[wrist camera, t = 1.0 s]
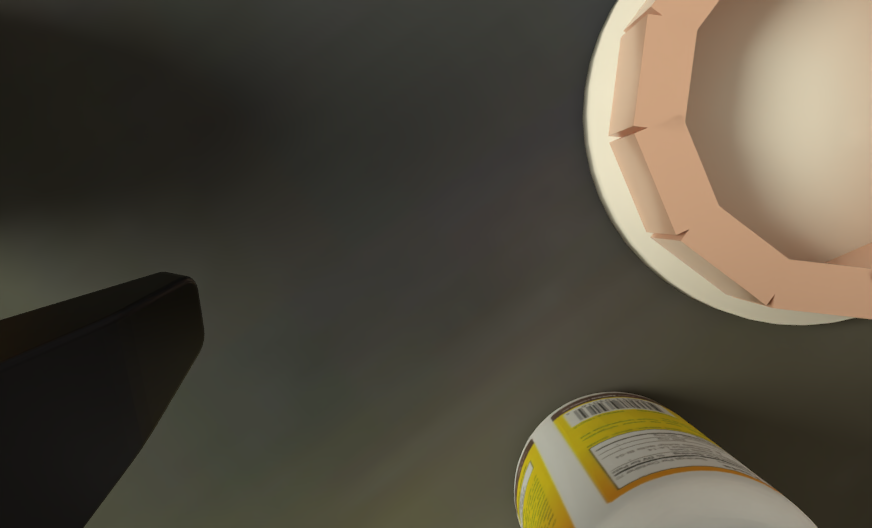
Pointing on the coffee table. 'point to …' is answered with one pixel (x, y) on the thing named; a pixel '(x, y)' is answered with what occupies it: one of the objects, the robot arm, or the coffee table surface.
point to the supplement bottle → (638, 473)
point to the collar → (740, 150)
